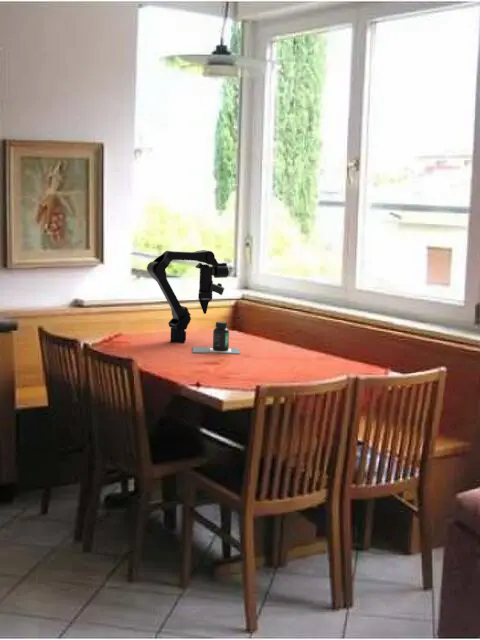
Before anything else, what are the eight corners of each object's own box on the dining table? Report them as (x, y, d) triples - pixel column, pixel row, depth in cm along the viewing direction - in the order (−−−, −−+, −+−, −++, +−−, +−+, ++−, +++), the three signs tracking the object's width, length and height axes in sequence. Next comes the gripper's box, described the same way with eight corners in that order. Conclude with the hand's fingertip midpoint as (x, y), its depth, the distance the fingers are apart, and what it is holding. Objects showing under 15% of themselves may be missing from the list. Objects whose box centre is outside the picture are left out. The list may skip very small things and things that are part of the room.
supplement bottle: (230, 351, 405) (231, 323, 404) (215, 351, 403) (216, 323, 401) (225, 348, 412) (226, 321, 410) (210, 348, 410) (211, 321, 408)
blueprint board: (192, 353, 401) (192, 351, 401) (192, 347, 413) (192, 346, 413) (239, 354, 402) (239, 353, 401) (238, 348, 414) (238, 347, 414)
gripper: (223, 280, 420) (222, 315, 422) (223, 276, 439) (222, 309, 441) (198, 280, 420) (197, 314, 422) (199, 275, 438) (198, 309, 441)
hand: (204, 312), depth 431 cm, fingers open, 9 cm apart
